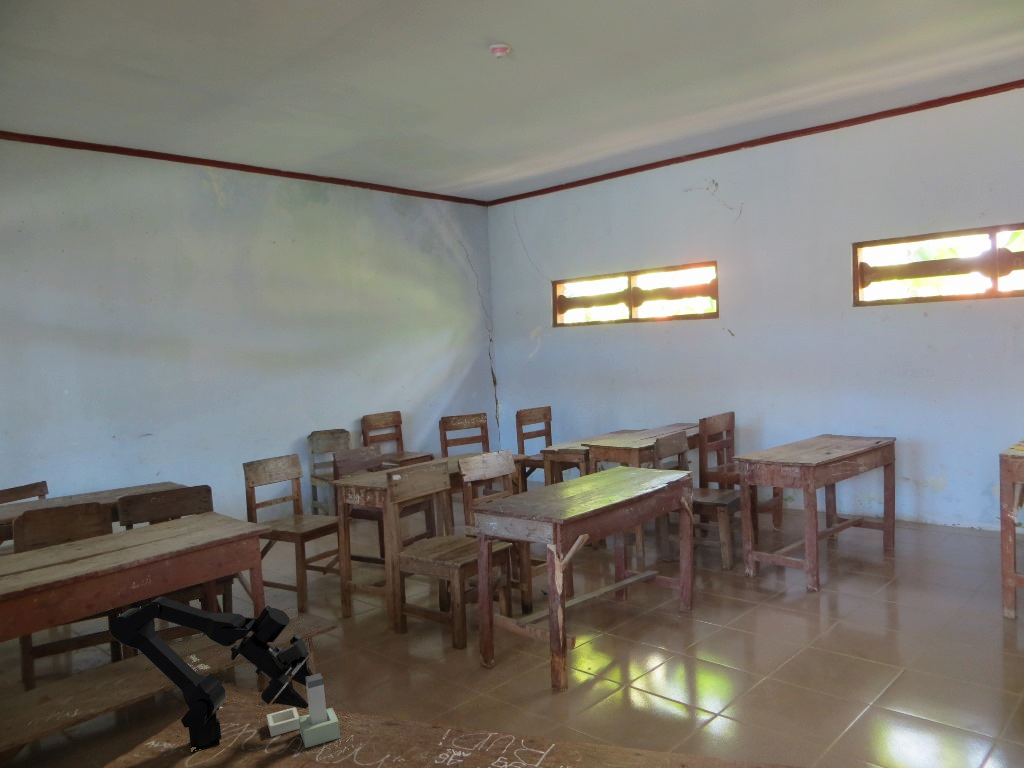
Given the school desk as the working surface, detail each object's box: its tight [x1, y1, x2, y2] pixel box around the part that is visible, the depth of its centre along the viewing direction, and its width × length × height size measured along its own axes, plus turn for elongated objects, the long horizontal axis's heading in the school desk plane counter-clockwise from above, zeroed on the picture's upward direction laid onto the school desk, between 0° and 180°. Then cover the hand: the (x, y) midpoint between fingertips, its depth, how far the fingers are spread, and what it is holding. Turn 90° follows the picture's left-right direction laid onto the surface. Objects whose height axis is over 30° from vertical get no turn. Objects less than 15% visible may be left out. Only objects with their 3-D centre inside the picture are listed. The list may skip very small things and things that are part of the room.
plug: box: [305, 672, 327, 726], centre depth 175 cm, size 4×4×12 cm
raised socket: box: [299, 707, 341, 749], centre depth 176 cm, size 8×8×4 cm
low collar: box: [266, 706, 300, 738], centre depth 182 cm, size 7×7×2 cm
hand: (313, 697), depth 175 cm, fingers open, 9 cm apart
